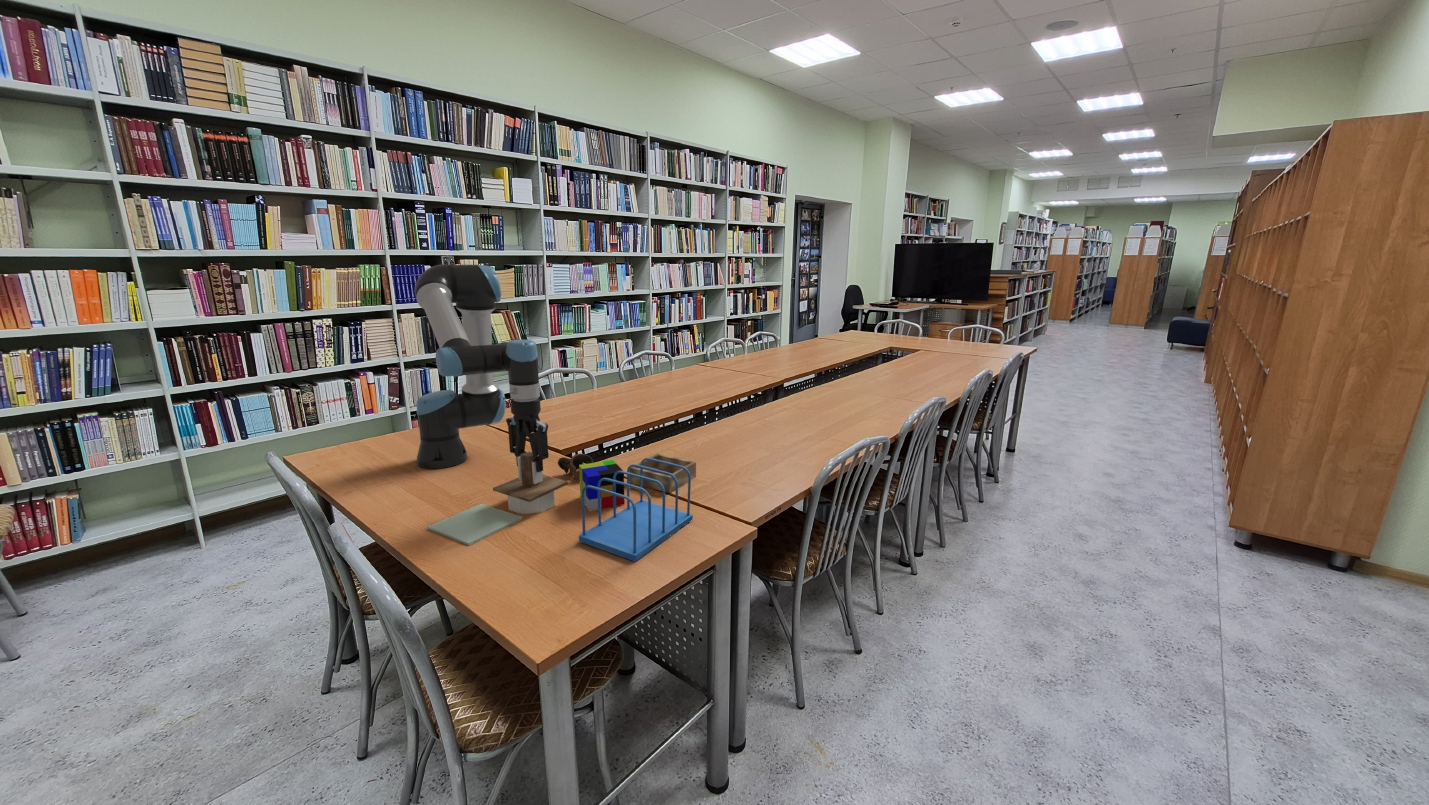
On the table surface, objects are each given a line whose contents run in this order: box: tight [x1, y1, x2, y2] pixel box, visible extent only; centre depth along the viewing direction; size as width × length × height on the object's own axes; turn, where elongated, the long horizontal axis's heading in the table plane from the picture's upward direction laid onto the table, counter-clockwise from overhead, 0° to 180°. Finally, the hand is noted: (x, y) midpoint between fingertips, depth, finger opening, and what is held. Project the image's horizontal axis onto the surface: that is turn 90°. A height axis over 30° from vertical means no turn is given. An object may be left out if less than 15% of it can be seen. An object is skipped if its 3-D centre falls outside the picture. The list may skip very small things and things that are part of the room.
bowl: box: [507, 491, 556, 515], centre depth 151 cm, size 12×12×5 cm
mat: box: [426, 503, 523, 546], centre depth 139 cm, size 16×16×1 cm
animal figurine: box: [557, 453, 595, 482], centre depth 171 cm, size 12×10×8 cm
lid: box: [492, 451, 569, 502], centre depth 149 cm, size 14×14×10 cm
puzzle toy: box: [578, 459, 626, 512], centre depth 153 cm, size 10×10×10 cm
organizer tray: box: [629, 453, 697, 494], centre depth 170 cm, size 15×15×5 cm
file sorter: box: [578, 457, 694, 562], centre depth 136 cm, size 25×17×15 cm
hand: (530, 479), depth 149 cm, fingers open, 5 cm apart
